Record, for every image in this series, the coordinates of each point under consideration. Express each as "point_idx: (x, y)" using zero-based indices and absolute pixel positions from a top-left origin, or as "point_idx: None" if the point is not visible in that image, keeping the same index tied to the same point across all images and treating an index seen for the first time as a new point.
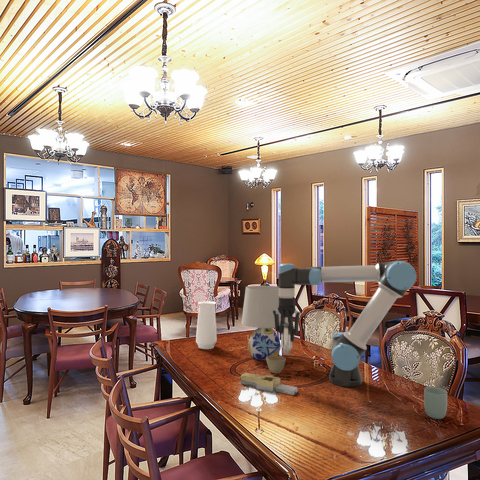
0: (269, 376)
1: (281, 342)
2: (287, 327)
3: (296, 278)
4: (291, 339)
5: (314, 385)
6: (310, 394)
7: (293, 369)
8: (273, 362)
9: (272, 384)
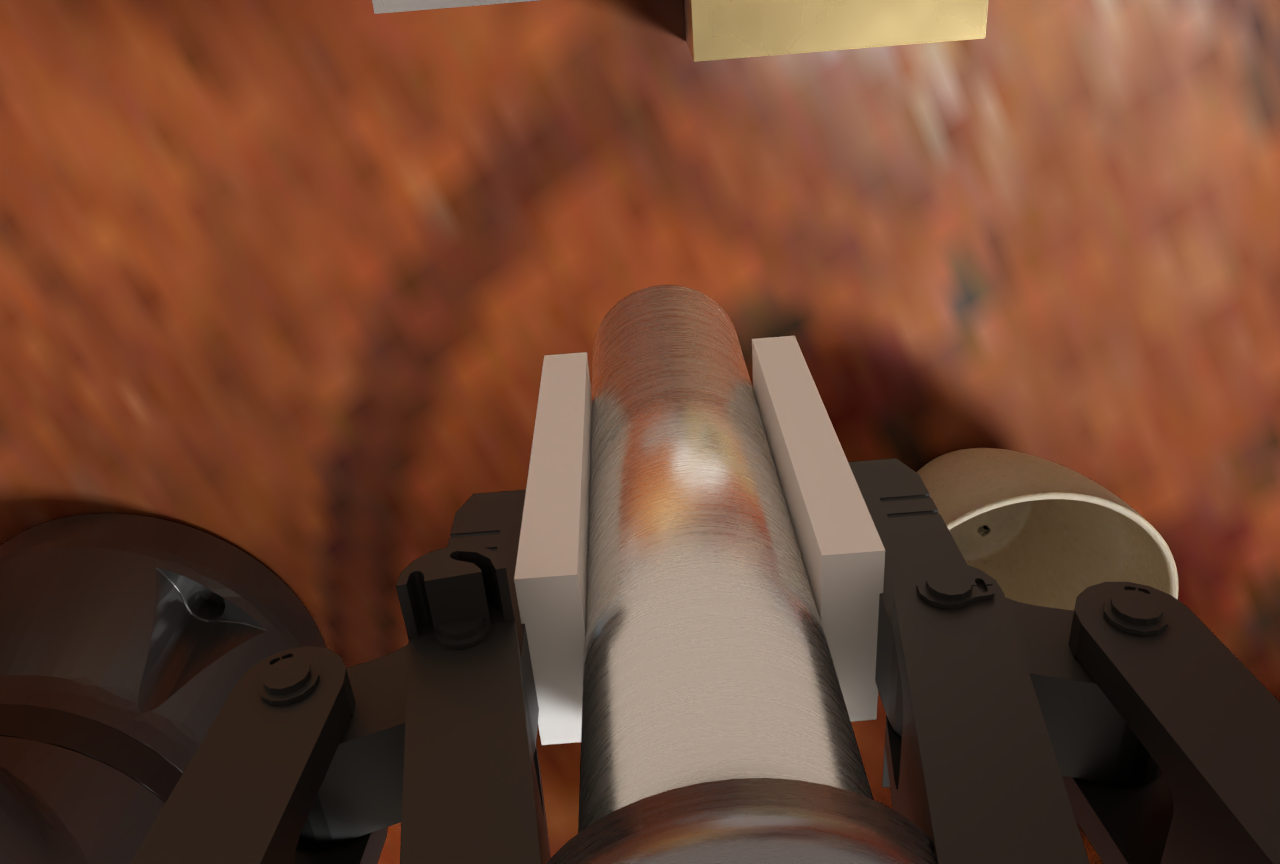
0: (876, 18)
1: (811, 397)
2: (632, 790)
3: None
4: (504, 524)
5: (344, 363)
6: (201, 31)
7: None
8: (1008, 483)
9: None
